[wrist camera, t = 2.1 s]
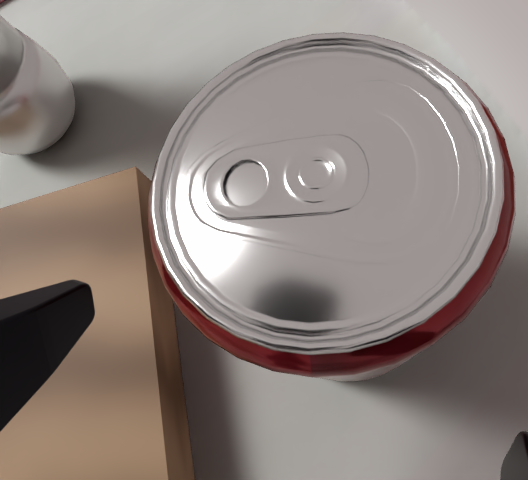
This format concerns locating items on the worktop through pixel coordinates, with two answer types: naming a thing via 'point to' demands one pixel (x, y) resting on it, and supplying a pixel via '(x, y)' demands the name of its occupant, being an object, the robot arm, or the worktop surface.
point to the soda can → (331, 206)
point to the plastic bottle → (31, 95)
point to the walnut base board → (98, 340)
